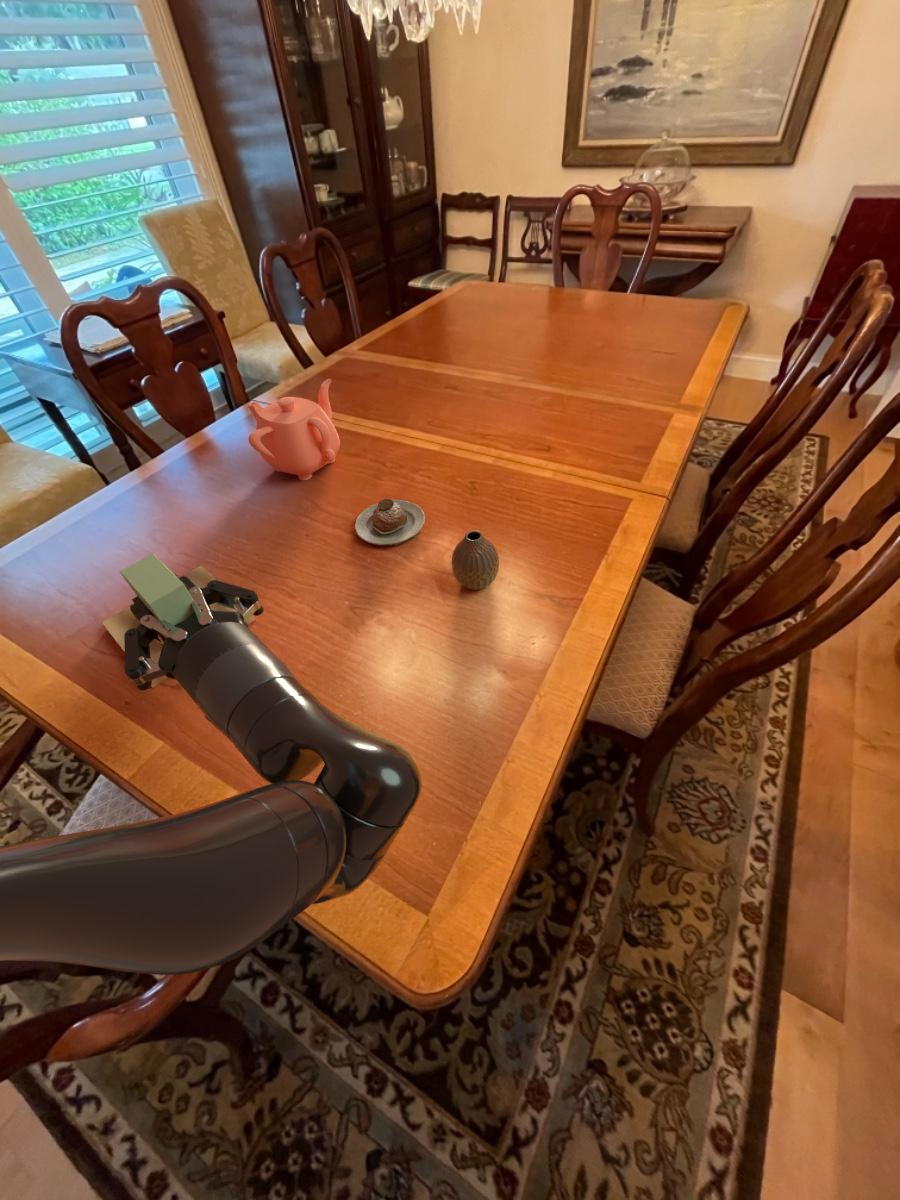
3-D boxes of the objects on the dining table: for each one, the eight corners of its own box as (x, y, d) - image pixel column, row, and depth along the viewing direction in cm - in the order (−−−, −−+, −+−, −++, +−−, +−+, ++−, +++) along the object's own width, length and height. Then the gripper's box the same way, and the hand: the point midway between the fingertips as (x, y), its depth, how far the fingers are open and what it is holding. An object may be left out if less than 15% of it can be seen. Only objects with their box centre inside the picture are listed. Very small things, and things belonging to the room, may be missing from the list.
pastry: (414, 498, 96) (411, 476, 93) (434, 537, 88) (431, 515, 85) (350, 515, 94) (344, 493, 91) (364, 557, 86) (358, 534, 83)
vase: (500, 596, 78) (499, 550, 72) (453, 598, 78) (448, 553, 72) (498, 563, 83) (497, 518, 76) (453, 566, 83) (449, 521, 77)
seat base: (152, 688, 71) (139, 672, 69) (107, 629, 80) (94, 613, 77) (255, 619, 78) (247, 603, 76) (204, 572, 87) (195, 555, 84)
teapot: (265, 451, 112) (242, 388, 103) (344, 435, 114) (329, 373, 105) (265, 493, 101) (240, 427, 92) (353, 475, 103) (338, 409, 94)
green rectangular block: (198, 675, 57) (148, 604, 49) (170, 641, 61) (119, 571, 53) (227, 655, 58) (183, 583, 51) (198, 624, 62) (152, 552, 54)
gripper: (294, 608, 47) (204, 531, 57) (141, 711, 41) (67, 605, 50) (316, 660, 53) (230, 582, 62) (184, 758, 46) (110, 655, 55)
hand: (157, 593), depth 56 cm, fingers closed on green rectangular block, 3 cm apart
